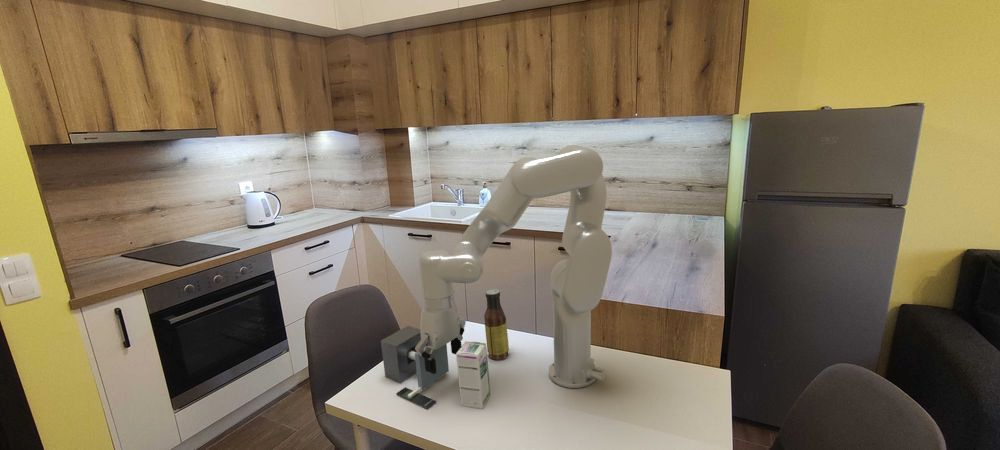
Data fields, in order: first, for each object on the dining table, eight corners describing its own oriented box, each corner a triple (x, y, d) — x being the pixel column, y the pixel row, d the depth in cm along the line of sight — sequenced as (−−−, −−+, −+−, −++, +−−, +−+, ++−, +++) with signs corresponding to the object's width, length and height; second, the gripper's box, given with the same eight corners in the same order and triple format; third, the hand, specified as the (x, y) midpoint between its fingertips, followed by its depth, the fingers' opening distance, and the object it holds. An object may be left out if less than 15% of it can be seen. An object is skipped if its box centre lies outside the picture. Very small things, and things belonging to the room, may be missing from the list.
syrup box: (482, 409, 106) (479, 354, 102) (460, 405, 108) (455, 351, 104) (490, 395, 111) (487, 342, 108) (468, 392, 113) (464, 340, 109)
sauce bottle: (513, 352, 130) (509, 289, 126) (501, 363, 125) (498, 297, 120) (494, 347, 134) (490, 286, 129) (482, 357, 129) (478, 293, 124)
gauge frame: (464, 380, 118) (462, 343, 115) (427, 409, 107) (423, 368, 104) (412, 360, 129) (408, 325, 127) (373, 384, 118) (368, 347, 116)
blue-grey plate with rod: (448, 371, 121) (445, 337, 118) (411, 398, 110) (406, 362, 107) (411, 356, 129) (407, 325, 127) (372, 380, 118) (367, 346, 116)
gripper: (450, 286, 118) (455, 344, 122) (401, 310, 104) (409, 375, 109) (472, 291, 114) (476, 351, 118) (424, 317, 100) (431, 384, 104)
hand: (444, 362), depth 113 cm, fingers open, 9 cm apart
